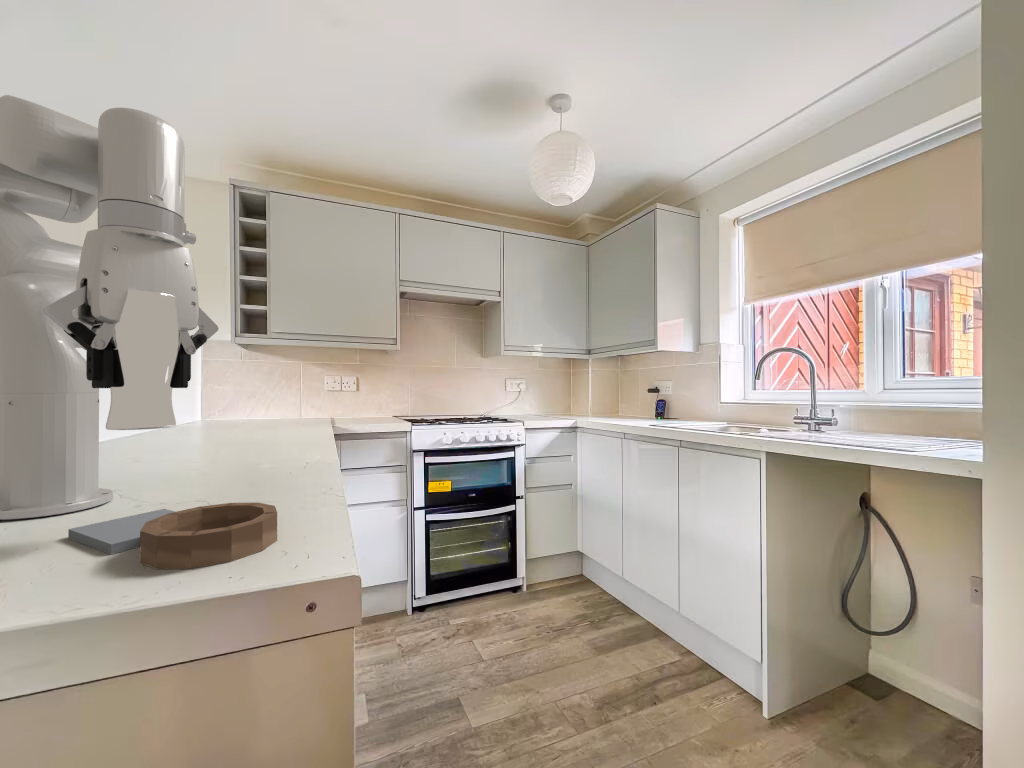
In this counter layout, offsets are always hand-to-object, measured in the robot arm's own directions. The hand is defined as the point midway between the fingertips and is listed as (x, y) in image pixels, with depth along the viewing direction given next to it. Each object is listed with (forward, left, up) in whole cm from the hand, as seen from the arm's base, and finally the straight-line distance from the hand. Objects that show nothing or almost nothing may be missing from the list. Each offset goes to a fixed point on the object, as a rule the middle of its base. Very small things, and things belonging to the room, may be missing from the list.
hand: (142, 386), depth 50 cm
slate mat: (0, 0, -17) cm, 17 cm away
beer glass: (0, 0, -5) cm, 5 cm away
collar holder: (+11, +1, -17) cm, 20 cm away
